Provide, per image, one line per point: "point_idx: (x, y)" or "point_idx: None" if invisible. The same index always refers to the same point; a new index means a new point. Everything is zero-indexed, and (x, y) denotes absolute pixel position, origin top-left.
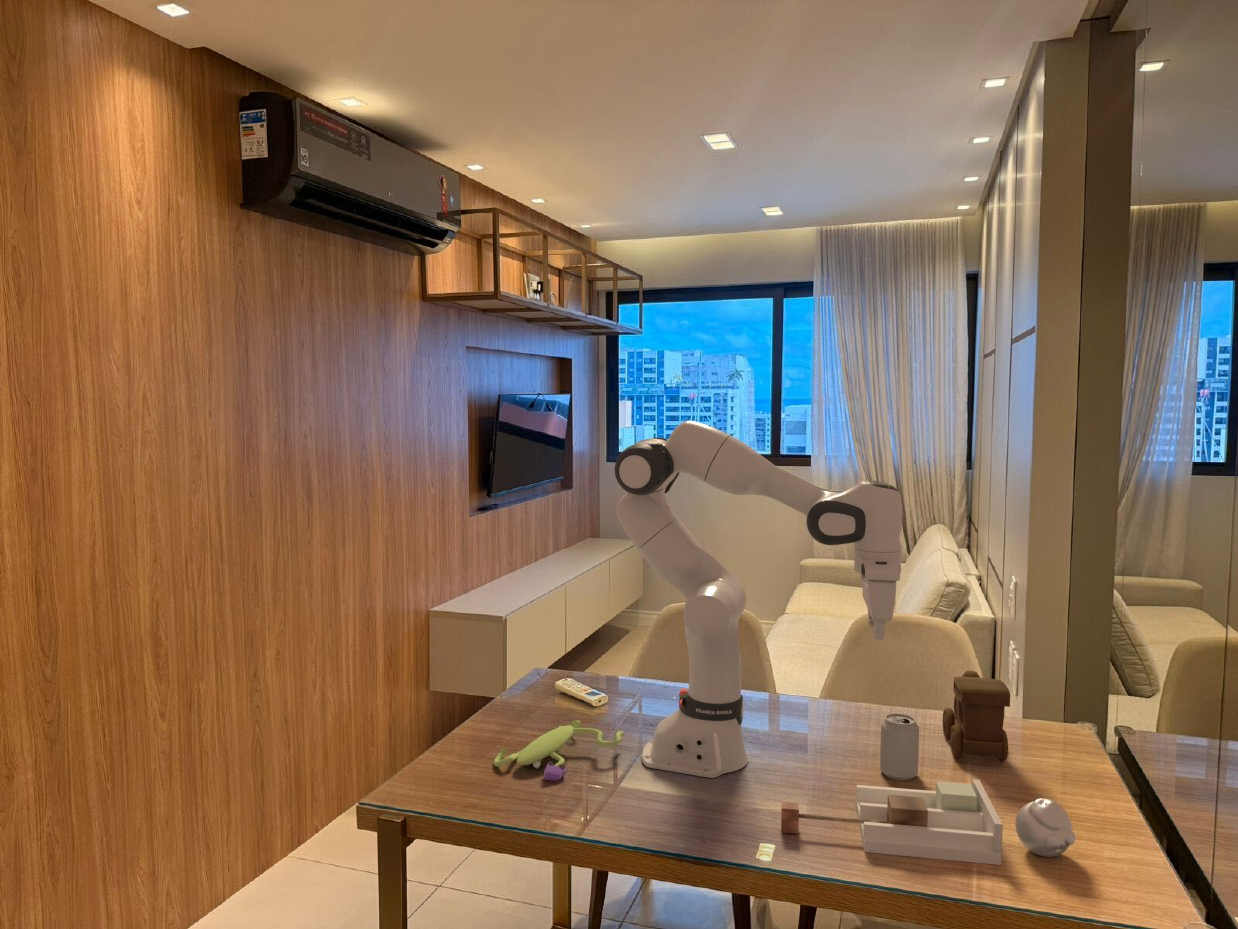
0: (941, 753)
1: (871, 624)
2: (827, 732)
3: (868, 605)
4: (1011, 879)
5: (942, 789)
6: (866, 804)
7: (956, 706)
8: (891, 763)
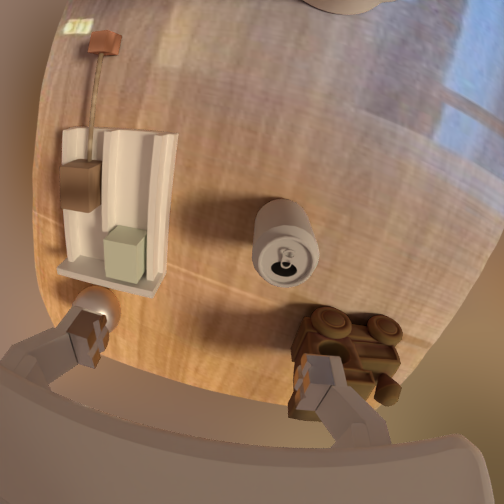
0: (341, 297)
1: (303, 365)
2: (430, 170)
3: (64, 435)
4: (61, 252)
5: (114, 245)
6: (105, 139)
7: (383, 353)
8: (261, 214)
